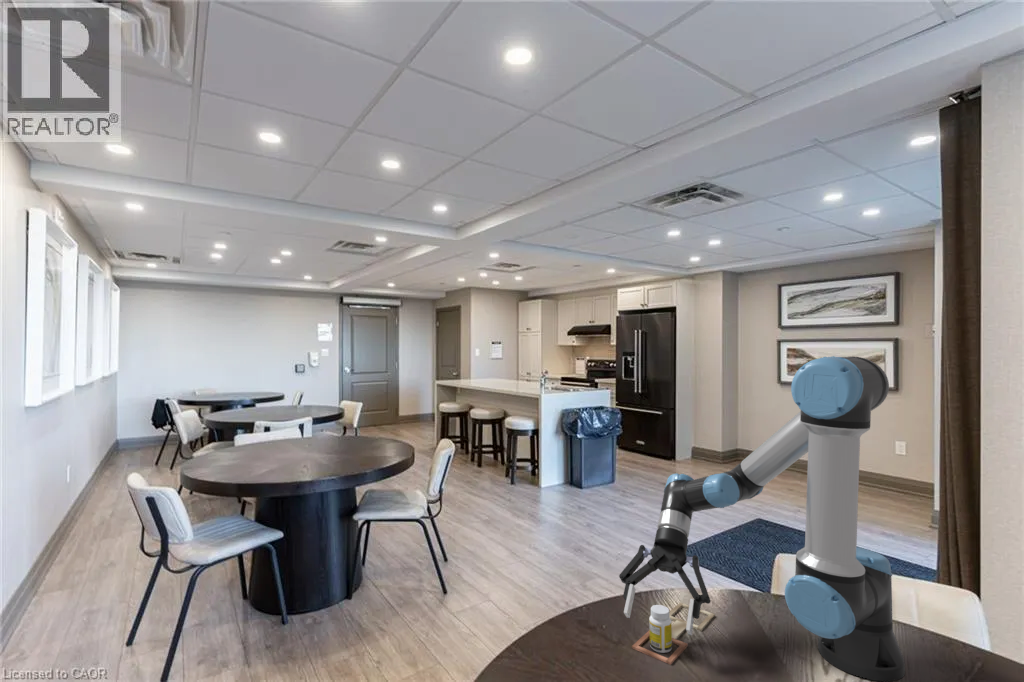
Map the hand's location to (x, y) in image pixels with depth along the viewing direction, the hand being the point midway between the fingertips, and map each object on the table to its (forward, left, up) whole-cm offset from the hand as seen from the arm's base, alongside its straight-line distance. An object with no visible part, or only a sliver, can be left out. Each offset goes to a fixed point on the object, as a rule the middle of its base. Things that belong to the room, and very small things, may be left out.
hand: (656, 623), depth 108 cm
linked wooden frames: (0, -11, -6) cm, 12 cm away
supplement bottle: (0, -2, -6) cm, 7 cm away
